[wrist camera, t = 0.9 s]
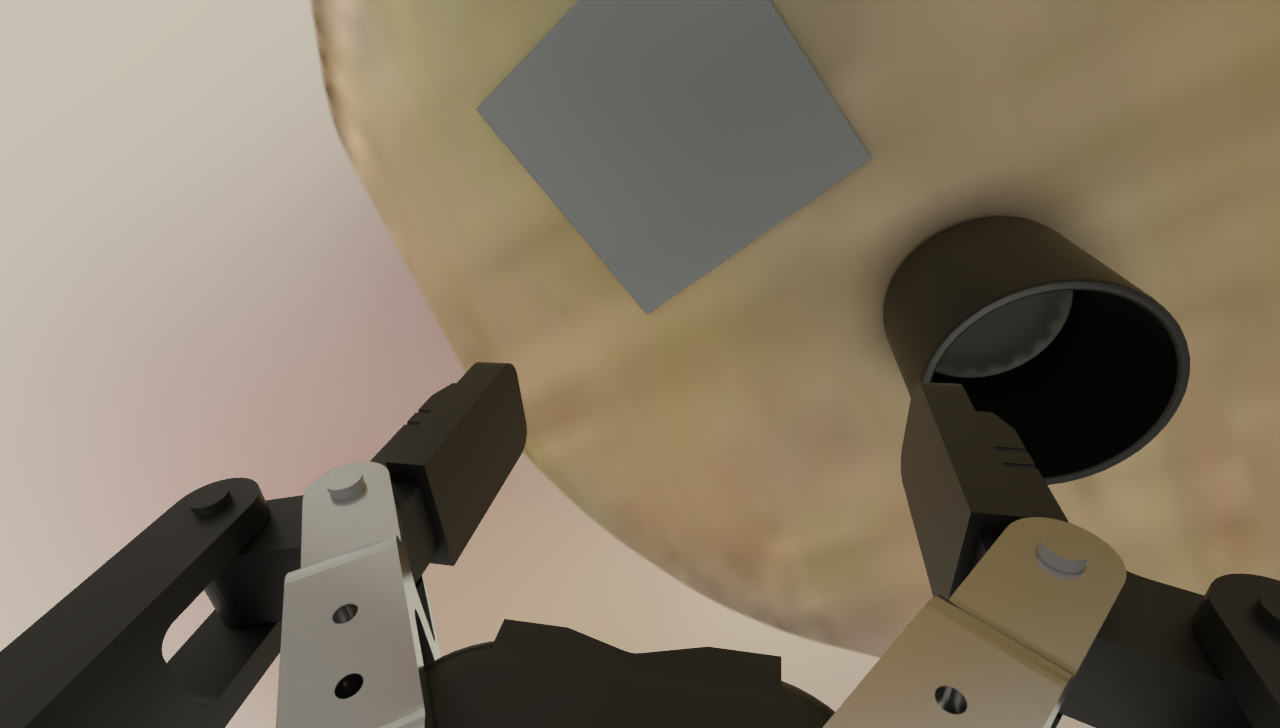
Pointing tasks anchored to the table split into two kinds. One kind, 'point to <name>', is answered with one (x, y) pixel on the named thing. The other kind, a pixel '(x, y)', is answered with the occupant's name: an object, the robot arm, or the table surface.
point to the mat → (672, 132)
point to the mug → (1039, 342)
